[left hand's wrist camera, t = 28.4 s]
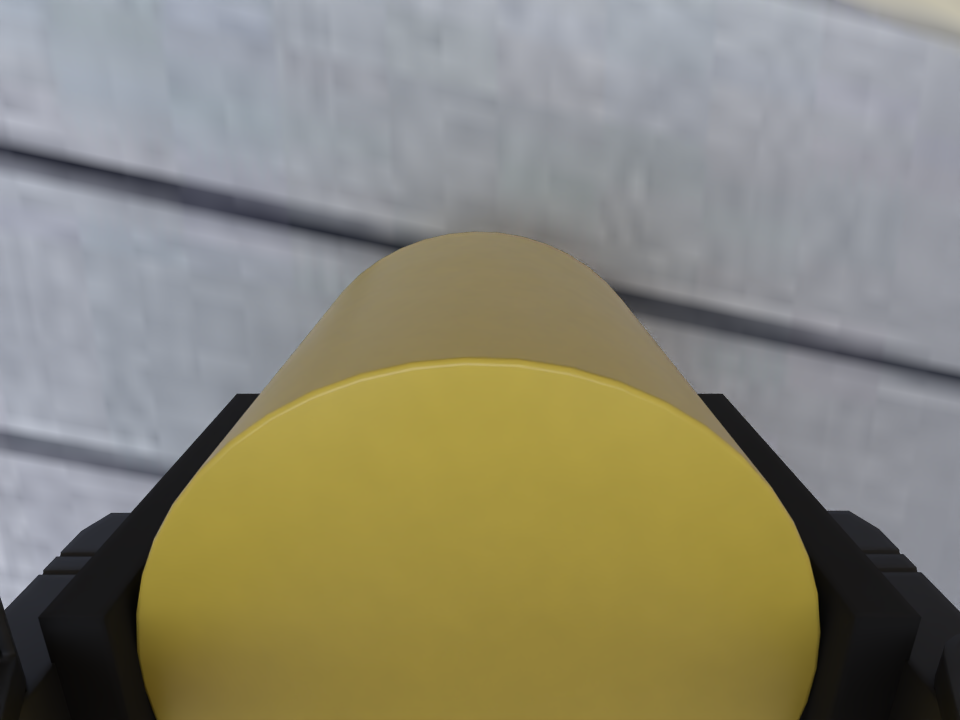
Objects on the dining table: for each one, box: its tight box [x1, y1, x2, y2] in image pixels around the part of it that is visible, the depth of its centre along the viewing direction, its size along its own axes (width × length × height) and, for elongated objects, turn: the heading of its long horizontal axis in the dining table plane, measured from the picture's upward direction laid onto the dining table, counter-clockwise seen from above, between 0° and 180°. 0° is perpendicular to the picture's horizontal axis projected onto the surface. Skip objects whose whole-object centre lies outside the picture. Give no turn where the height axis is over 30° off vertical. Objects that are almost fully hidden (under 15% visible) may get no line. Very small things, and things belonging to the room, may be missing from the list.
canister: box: [136, 232, 820, 720], centre depth 12 cm, size 9×9×8 cm
